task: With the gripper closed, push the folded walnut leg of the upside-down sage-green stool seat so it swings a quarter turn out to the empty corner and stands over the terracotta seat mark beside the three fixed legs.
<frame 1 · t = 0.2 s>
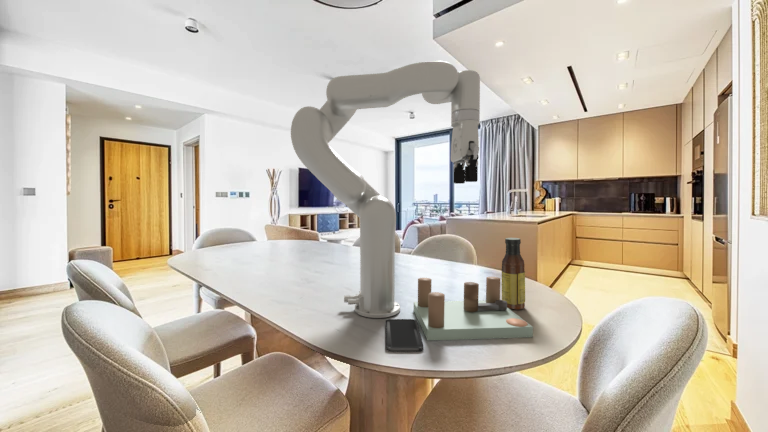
hand: (464, 182, 85), 36 cm above the table, tool pointing down, fingers open, 9 cm apart
sauce bottle: (512, 307, 88), on the table
folding leg: (485, 296, 79), point 6 cm above the table, hinge at 0.0°
stool seat: (466, 322, 77), on the table
phone: (403, 337, 70), on the table
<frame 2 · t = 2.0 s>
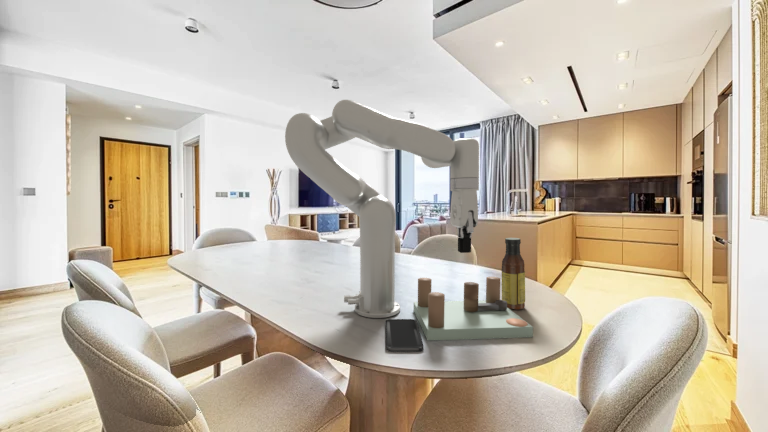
hand: (464, 252, 85), 16 cm above the table, tool pointing down, fingers closed
nothing on the table moved.
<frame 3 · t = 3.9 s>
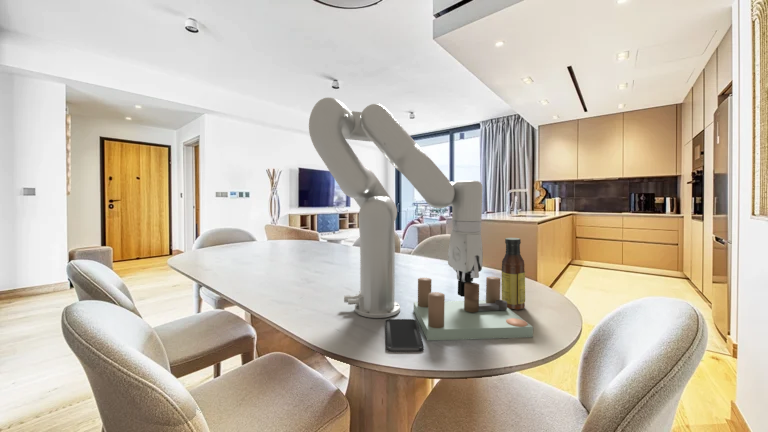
hand: (464, 295, 82), 5 cm above the table, tool pointing down, fingers closed
folding leg: (485, 296, 78), point 6 cm above the table, hinge at 2.8°, touching gripper
everything else where it was.
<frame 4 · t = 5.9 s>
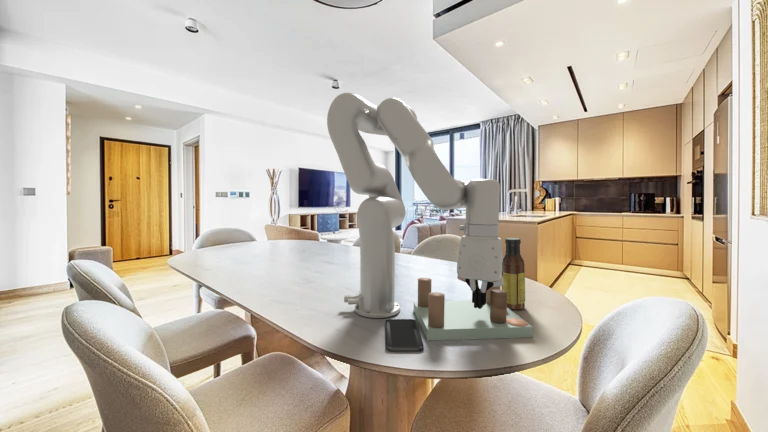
hand: (478, 306, 74), 5 cm above the table, tool pointing down, fingers closed
folding leg: (499, 300, 75), point 6 cm above the table, hinge at 60.2°, touching gripper
everything else where it was.
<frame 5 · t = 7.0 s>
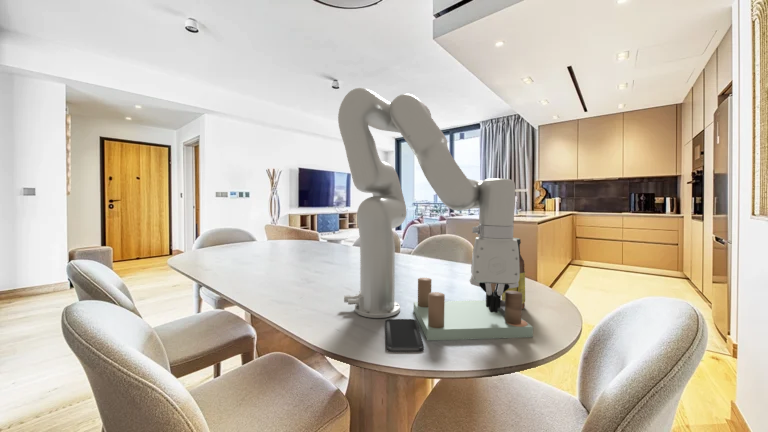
hand: (492, 310, 72), 5 cm above the table, tool pointing down, fingers closed
folding leg: (507, 301, 75), point 6 cm above the table, hinge at 83.7°, touching gripper
everything else where it was.
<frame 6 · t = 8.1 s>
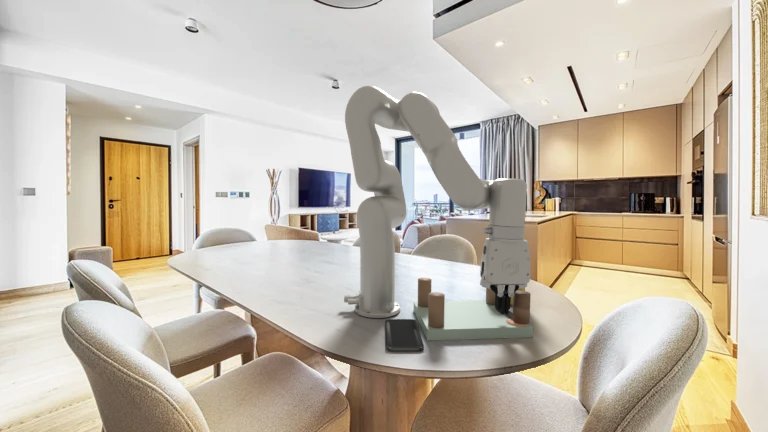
hand: (502, 311, 71), 5 cm above the table, tool pointing down, fingers closed
folding leg: (511, 301, 75), point 6 cm above the table, hinge at 97.9°, touching gripper
everything else where it was.
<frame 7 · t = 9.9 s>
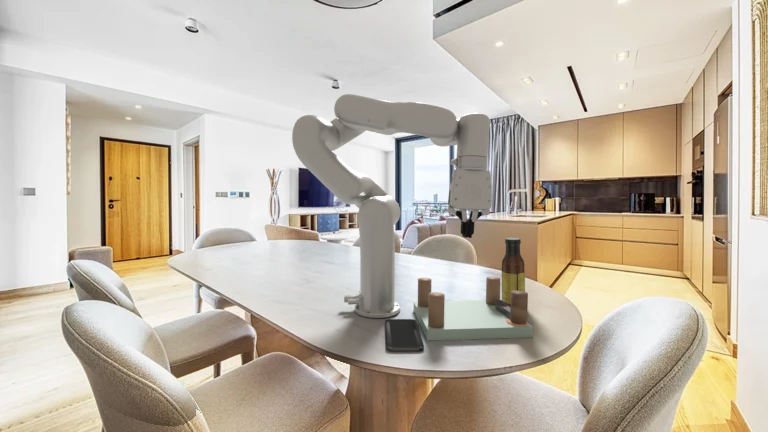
hand: (466, 236, 79), 21 cm above the table, tool pointing down, fingers closed
folding leg: (510, 301, 75), point 6 cm above the table, hinge at 93.3°
everything else where it was.
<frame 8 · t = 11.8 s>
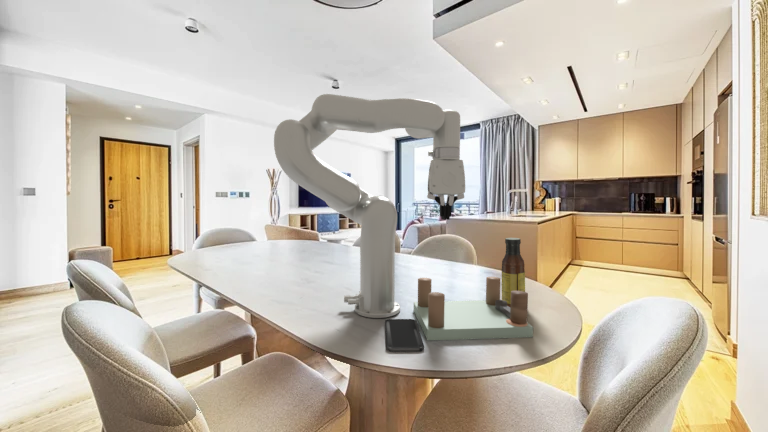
hand: (445, 219, 89), 25 cm above the table, tool pointing down, fingers closed
nothing on the table moved.
at the end: folding leg at +93° (first picture: +0°) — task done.
